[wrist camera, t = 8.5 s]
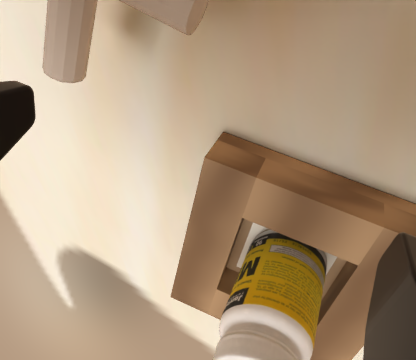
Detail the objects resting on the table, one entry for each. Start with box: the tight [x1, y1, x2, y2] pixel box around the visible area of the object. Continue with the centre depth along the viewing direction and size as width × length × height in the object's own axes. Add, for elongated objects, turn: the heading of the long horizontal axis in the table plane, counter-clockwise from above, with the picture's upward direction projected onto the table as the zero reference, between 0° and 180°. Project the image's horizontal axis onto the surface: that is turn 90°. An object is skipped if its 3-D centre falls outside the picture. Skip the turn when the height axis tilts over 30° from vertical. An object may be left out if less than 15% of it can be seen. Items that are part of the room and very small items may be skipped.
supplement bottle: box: [213, 230, 327, 360], centre depth 21 cm, size 5×5×8 cm
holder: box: [171, 132, 416, 360], centre depth 24 cm, size 12×12×3 cm
